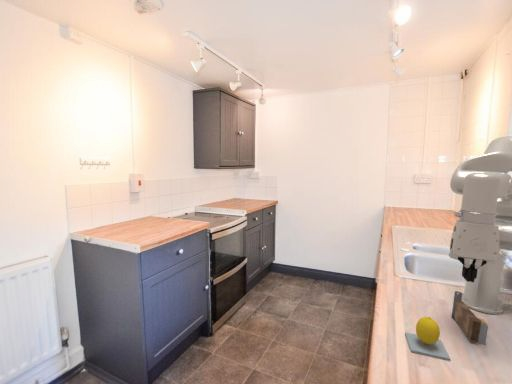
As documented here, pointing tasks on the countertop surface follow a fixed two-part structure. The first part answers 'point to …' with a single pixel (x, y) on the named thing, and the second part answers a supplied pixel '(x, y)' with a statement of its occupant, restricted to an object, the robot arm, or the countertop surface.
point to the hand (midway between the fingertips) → (468, 279)
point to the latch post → (483, 332)
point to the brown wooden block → (467, 321)
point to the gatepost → (456, 297)
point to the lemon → (427, 330)
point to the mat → (426, 347)
